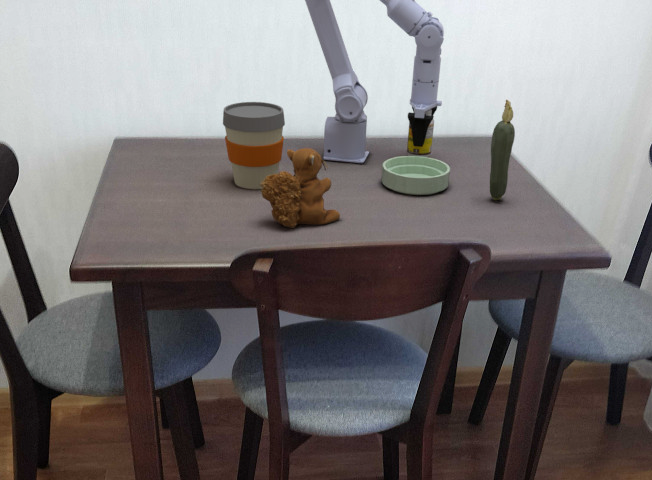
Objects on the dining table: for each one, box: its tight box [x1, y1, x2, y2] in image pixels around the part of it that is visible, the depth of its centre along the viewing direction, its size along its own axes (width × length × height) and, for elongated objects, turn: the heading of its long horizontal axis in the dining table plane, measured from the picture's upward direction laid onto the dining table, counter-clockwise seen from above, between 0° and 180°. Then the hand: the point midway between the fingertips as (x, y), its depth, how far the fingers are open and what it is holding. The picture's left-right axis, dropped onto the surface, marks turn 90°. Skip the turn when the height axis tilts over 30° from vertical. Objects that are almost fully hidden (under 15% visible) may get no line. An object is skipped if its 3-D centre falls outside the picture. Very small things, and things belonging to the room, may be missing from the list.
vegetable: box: [489, 99, 516, 201], centre depth 153 cm, size 4×4×20 cm
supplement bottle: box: [406, 109, 435, 158], centre depth 173 cm, size 6×6×10 cm
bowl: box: [381, 155, 451, 196], centre depth 164 cm, size 14×14×4 cm
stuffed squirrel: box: [259, 147, 341, 229], centre depth 143 cm, size 10×14×13 cm
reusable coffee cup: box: [222, 101, 286, 190], centre depth 159 cm, size 13×13×15 cm
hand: (419, 142), depth 175 cm, fingers closed on supplement bottle, 5 cm apart
